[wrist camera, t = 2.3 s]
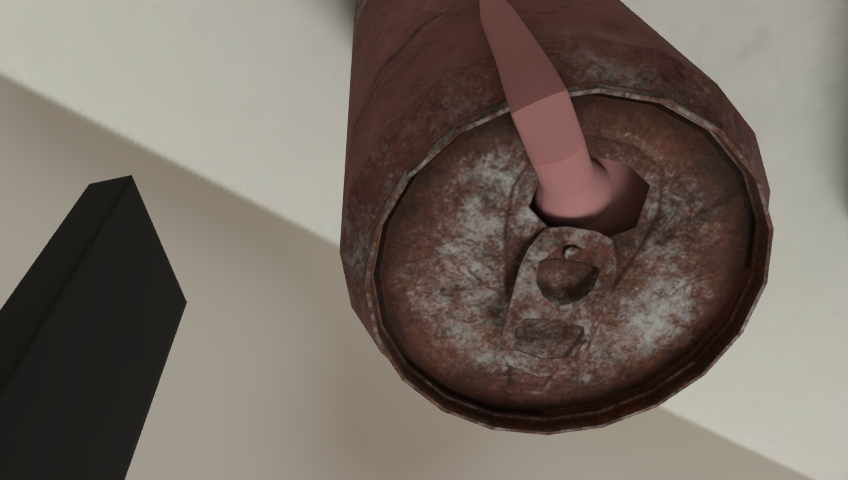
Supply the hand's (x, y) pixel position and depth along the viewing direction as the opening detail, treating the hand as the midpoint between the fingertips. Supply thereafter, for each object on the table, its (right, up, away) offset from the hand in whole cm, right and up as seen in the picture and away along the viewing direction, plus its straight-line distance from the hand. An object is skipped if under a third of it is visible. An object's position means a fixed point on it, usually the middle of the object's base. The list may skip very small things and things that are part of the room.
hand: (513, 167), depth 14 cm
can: (-1, +5, +9) cm, 10 cm away
